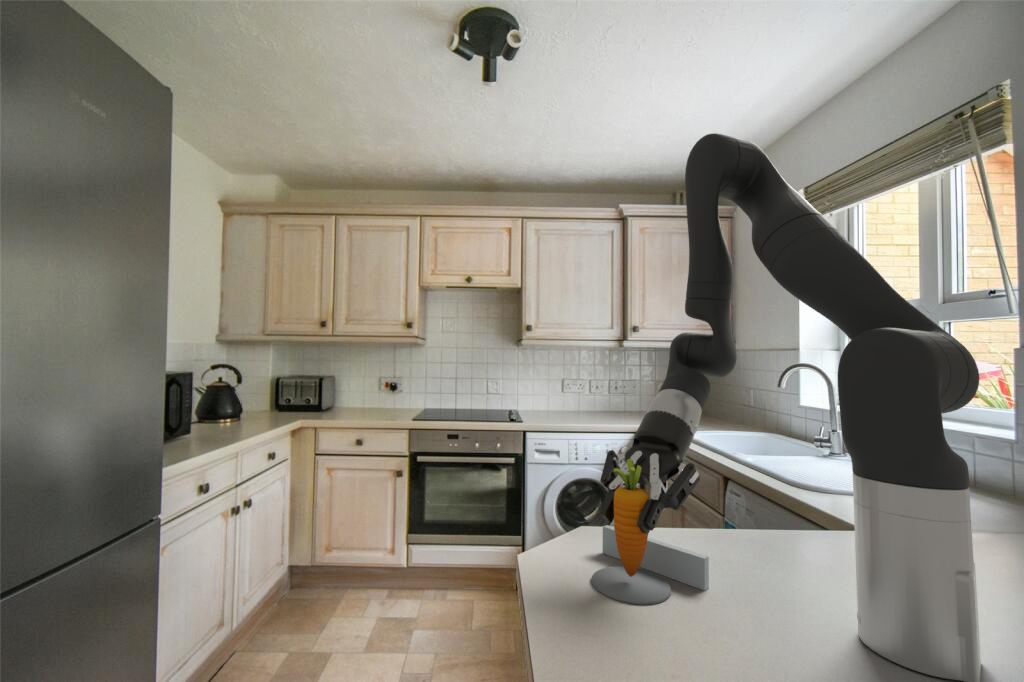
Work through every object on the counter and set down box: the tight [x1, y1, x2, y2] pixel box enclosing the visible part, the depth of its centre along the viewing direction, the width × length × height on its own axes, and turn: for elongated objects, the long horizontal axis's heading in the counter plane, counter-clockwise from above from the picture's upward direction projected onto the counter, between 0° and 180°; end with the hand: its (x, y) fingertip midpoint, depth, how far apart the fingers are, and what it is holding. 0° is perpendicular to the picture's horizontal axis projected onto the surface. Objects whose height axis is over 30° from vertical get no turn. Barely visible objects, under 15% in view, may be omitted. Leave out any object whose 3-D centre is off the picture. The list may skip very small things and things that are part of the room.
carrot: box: [613, 459, 650, 577], centre depth 59 cm, size 5×5×15 cm
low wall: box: [602, 524, 710, 591], centre depth 64 cm, size 16×1×4 cm, turn 43°
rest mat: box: [591, 566, 672, 606], centre depth 58 cm, size 10×10×1 cm
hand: (623, 523), depth 58 cm, fingers closed on carrot, 5 cm apart
